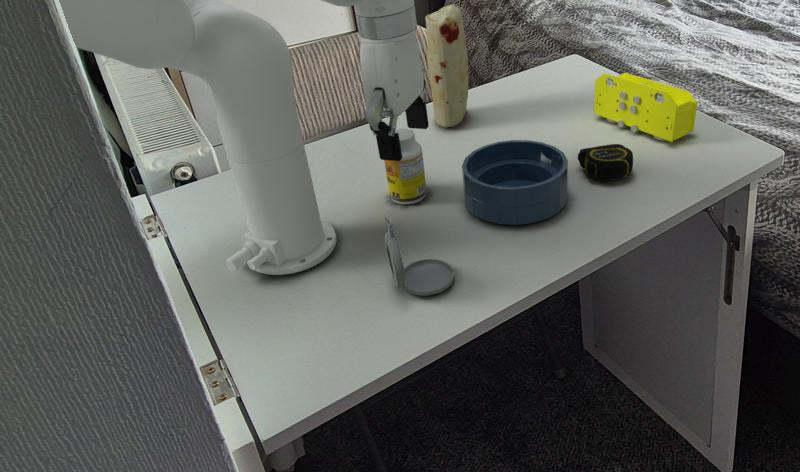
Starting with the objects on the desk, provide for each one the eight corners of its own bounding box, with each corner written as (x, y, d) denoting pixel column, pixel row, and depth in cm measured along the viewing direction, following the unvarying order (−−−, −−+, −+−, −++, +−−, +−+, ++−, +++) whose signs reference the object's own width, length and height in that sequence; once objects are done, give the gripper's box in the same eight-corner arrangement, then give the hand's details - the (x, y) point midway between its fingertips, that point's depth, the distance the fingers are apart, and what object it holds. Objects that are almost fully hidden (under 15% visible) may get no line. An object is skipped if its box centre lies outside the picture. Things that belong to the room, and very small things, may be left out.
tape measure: (621, 161, 98) (623, 138, 96) (639, 182, 93) (641, 158, 91) (576, 167, 98) (577, 145, 96) (591, 189, 93) (593, 165, 91)
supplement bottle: (387, 191, 99) (378, 129, 94) (423, 184, 100) (415, 122, 94) (393, 209, 95) (383, 145, 89) (430, 202, 95) (423, 138, 89)
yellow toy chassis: (591, 118, 112) (593, 71, 107) (615, 108, 114) (618, 62, 109) (669, 147, 100) (675, 96, 95) (694, 135, 102) (701, 85, 98)
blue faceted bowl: (541, 237, 84) (541, 197, 81) (447, 214, 92) (443, 177, 88) (582, 186, 94) (583, 148, 90) (493, 169, 101) (491, 134, 98)
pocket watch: (465, 277, 79) (460, 207, 74) (417, 314, 75) (408, 242, 69) (417, 254, 84) (408, 187, 79) (370, 287, 80) (357, 218, 74)
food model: (464, 132, 113) (456, 16, 102) (427, 131, 115) (415, 17, 104) (475, 109, 121) (469, -1, 110) (440, 109, 123) (431, 0, 112)
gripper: (388, 3, 91) (405, 115, 100) (329, 46, 78) (355, 170, 88) (438, 1, 88) (450, 118, 97) (385, 46, 75) (405, 175, 85)
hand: (405, 143), depth 93 cm, fingers open, 9 cm apart
